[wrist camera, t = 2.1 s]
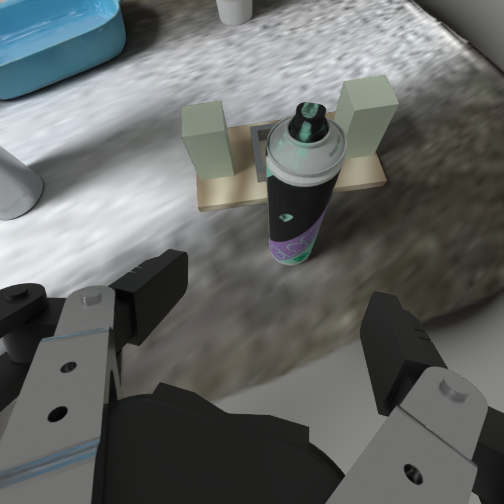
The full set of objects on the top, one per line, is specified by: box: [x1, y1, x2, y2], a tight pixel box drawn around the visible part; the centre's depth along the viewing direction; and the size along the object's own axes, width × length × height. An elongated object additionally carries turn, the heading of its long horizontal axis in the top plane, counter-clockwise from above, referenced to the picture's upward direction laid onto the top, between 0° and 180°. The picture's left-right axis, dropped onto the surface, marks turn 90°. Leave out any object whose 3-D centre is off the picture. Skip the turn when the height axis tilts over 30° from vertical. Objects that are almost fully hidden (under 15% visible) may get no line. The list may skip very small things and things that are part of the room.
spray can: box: [265, 102, 347, 266], centre depth 24 cm, size 6×6×20 cm
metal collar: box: [250, 122, 278, 183], centre depth 36 cm, size 9×9×2 cm
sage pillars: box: [181, 75, 399, 181], centre depth 33 cm, size 25×5×8 cm, turn 96°
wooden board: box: [197, 111, 387, 212], centre depth 38 cm, size 26×14×1 cm, turn 96°
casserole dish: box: [0, 0, 126, 100], centre depth 50 cm, size 37×22×7 cm, turn 120°
